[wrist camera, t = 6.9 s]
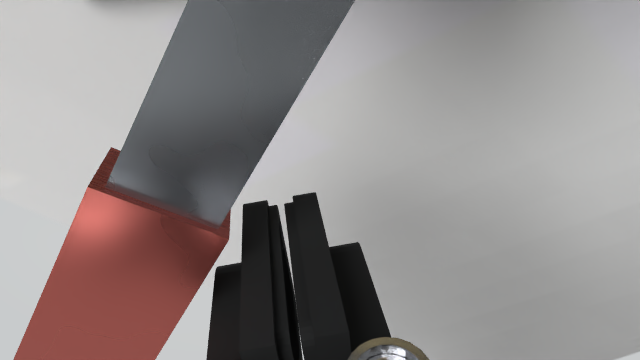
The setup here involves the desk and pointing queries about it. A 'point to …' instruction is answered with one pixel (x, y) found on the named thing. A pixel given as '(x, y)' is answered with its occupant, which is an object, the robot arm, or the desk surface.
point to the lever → (177, 178)
